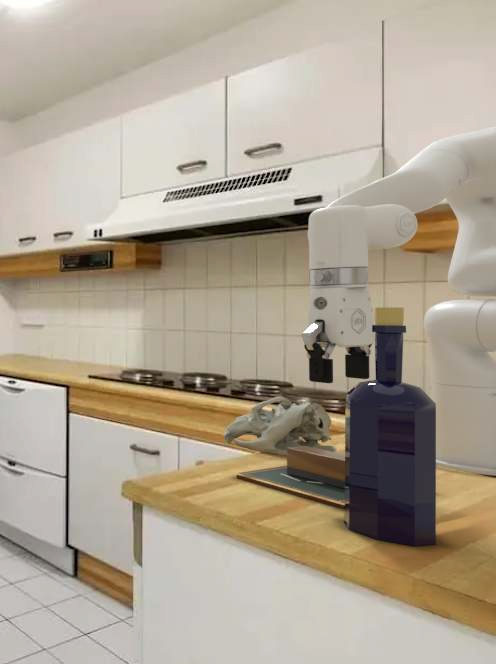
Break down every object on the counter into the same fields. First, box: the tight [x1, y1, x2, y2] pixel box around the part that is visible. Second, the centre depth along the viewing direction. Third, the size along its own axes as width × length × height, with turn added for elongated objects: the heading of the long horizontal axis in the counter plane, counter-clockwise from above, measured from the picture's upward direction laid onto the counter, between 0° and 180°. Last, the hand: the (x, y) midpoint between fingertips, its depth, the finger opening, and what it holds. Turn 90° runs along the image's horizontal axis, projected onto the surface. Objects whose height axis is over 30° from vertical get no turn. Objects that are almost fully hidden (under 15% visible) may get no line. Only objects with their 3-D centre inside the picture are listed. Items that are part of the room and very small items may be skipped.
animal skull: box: [223, 396, 338, 456], centre depth 113 cm, size 18×12×13 cm
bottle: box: [343, 306, 438, 547], centre depth 73 cm, size 9×9×30 cm
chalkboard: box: [236, 465, 345, 511], centre depth 92 cm, size 22×16×1 cm
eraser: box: [286, 446, 345, 488], centre depth 92 cm, size 4×9×4 cm, turn 20°
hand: (339, 380), depth 93 cm, fingers open, 9 cm apart
